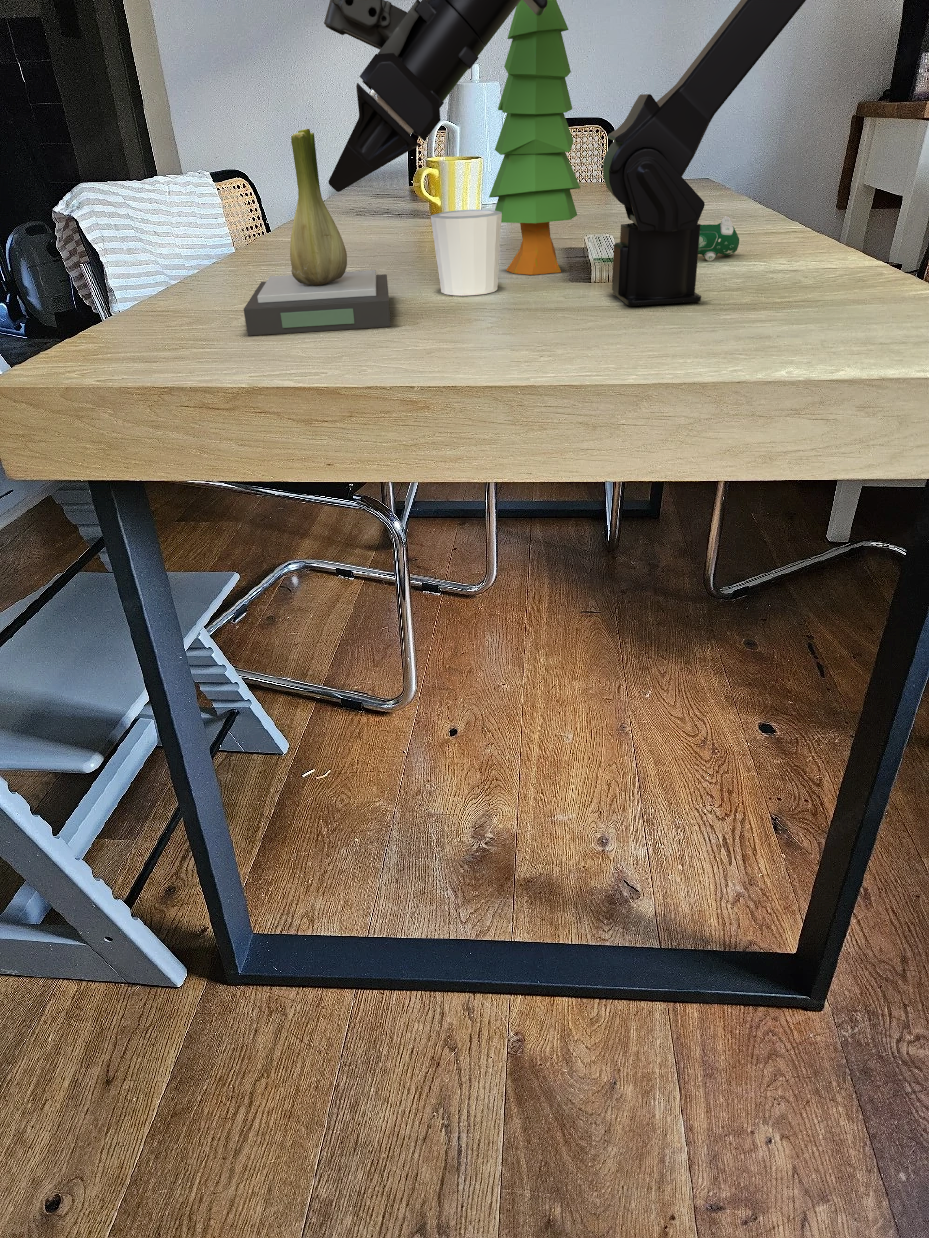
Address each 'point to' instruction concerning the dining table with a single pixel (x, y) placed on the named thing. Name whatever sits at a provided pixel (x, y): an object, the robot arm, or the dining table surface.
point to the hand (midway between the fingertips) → (335, 183)
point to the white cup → (467, 250)
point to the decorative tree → (535, 137)
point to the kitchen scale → (319, 304)
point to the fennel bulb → (313, 222)
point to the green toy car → (718, 239)
